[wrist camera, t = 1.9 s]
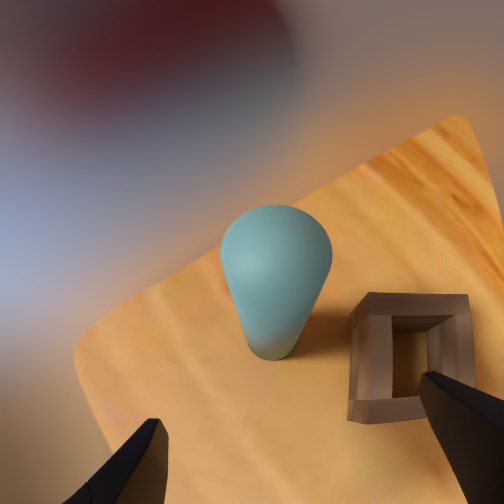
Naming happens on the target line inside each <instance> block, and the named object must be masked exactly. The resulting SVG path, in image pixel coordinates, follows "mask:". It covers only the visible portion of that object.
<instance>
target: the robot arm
mask: <svg viewBox="0 0 504 504" xmlns="http://www.w3.org/2000/svg"><path fill="white" fill-rule="evenodd" d="M418 395H419V398H420V400H421V403H422V405H423V408H424V410H425V413H426V415H427V418H428V421H429V423H430V425H431V428H432V430H433V432H434V434H435V436H436V437H437V439H438V441H439V443H440V445H441V447H442V449H443V451H444V453H445V455H446V457H447V459H448V461H449V463H450V465H451V467H452V470H453V472H454V474H455V476H456V478H457V480H458V482H459V485H460V487H461V489H462V491H463V493H464V496H465V498H466V500H467V502H468V504H504V400H501V399H499V398H496V397H494V396H492V395H489V394H487V393H485V392H482V391H480V390H478V389H475V388H473V387H471V386H468V385H466V384H464V383H462V382H459V381H457V380H455V379H453V378H450V377H448V376H446V375H444V374H441V373H439V372H437V371H435V370H430V371H428V372H425V373H423V374H422V377H421V380H420V384H419V387H418ZM168 441H169V438H168V433H167V431H166V429H165V427H164V425H163V423H162V421H161V420H160V419H158V418H149V419H147V420H146V421H145V422H144V423H143V424H142V425H141V426H140V427H139V428H138V429H137V430H136V431H135V432H134V434H133V435H132V436H131V437H130V438H129V439H128V440H127V441H126V442H125V443H124V444H123V445H122V446H121V447H120V448H119V449H118V450H117V451H116V452H115V453H114V454H113V455H112V457H111V458H110V459H109V460H108V461H107V462H106V463H105V464H104V465H103V466H102V467H101V468H100V469H99V470H98V471H97V472H96V473H95V474H94V475H93V476H92V477H91V478H90V479H89V480H88V482H86V483H85V484H84V485H83V486H82V487H81V488H80V489H79V490H77V491H76V492H75V493H74V494H73V495H72V496H71V497H70V498H68V499H67V500H66V501H65V502H63V503H62V504H164V500H165V493H166V485H167V478H168Z"/></svg>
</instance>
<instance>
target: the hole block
mask: <svg viewBox="0 0 504 504" xmlns="http://www.w3.org/2000/svg"><path fill="white" fill-rule="evenodd" d="M425 331H426V336H427V359H428V371H430V370H435V371H437V372H439V373H441V374H444V375H446V376H448V377H450V378H453V379H455V380H457V381H459V382H462V383H464V384H466V385H468V386H471V387H473V388H475V360H474V344H473V332H472V322H471V314H470V306H469V300H468V294H410V293H377V292H368V293H367V295H366V296H365V297H364V298H363V299H362V300H361V302H360V303H359V304H358V305H357V306H356V307H355V309H354V310H353V311H352V312H351V348H350V381H349V399H348V414H347V420H348V421H353V422H357V423H362V424H367V425H368V424H380V423H391V422H399V421H407V420H415V419H421V418H427V415H426V413H425V410H424V408H423V405H422V403H421V400H420V398H419V396H410V397H400V398H392V378H393V348H392V332H425Z"/></svg>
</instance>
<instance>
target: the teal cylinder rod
mask: <svg viewBox="0 0 504 504" xmlns="http://www.w3.org/2000/svg"><path fill="white" fill-rule="evenodd" d="M220 257H221V264H222V268H223V271H224V274H225V277H226V280H227V283H228V286H229V289H230V292H231V295H232V298H233V301H234V304H235V307H236V310H237V313H238V316H239V319H240V322H241V325H242V328H243V331H244V334H245V337H246V339H247V342H248V345H249V347H250V349H251V351H252V352H253V353H254V354H255V355H256V356H258V357H260V358H262V359H265V360H278V359H281V358H283V357H285V356H287V355H288V354H289V353H290V352H291V351H292V349H293V348H294V346H295V344H296V342H297V340H298V338H299V336H300V334H301V332H302V330H303V328H304V326H305V323H306V321H307V319H308V317H309V315H310V313H311V311H312V309H313V307H314V304H315V302H316V300H317V298H318V296H319V293H320V291H321V289H322V287H323V285H324V282H325V280H326V278H327V276H328V273H329V271H330V268H331V263H332V246H331V243H330V240H329V237H328V235H327V233H326V231H325V230H324V228H323V227H322V226H321V224H320V223H319V222H318V221H317V220H316V219H314V218H313V217H312V216H310V215H309V214H307V213H305V212H303V211H301V210H299V209H296V208H293V207H289V206H283V205H268V206H262V207H258V208H255V209H252V210H250V211H248V212H246V213H245V214H243V215H241V216H240V217H239V218H237V219H236V220H235V221H234V222H233V223H232V224H231V226H230V227H229V228H228V230H227V232H226V233H225V235H224V238H223V240H222V244H221V251H220Z"/></svg>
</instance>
